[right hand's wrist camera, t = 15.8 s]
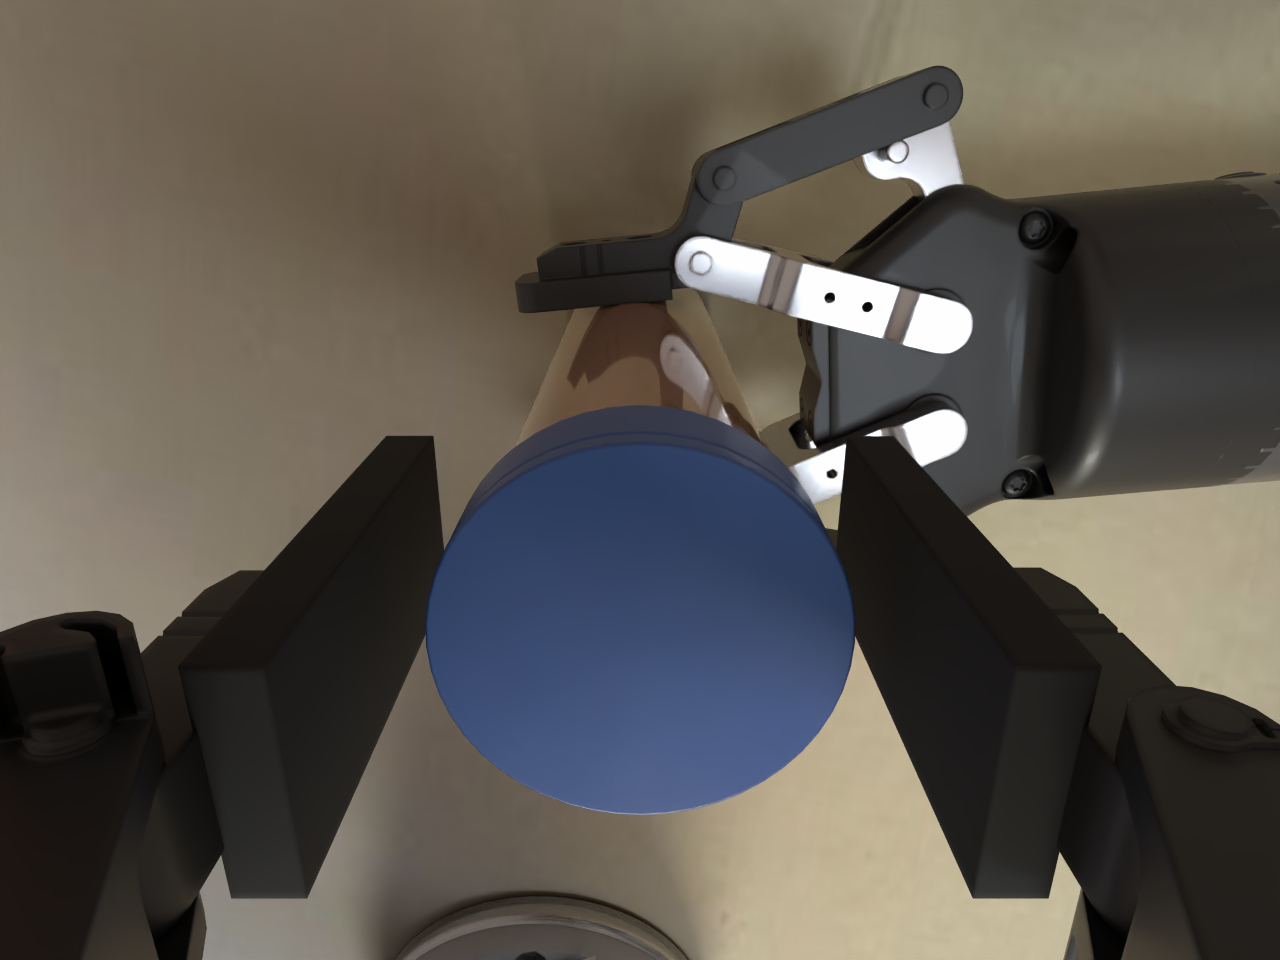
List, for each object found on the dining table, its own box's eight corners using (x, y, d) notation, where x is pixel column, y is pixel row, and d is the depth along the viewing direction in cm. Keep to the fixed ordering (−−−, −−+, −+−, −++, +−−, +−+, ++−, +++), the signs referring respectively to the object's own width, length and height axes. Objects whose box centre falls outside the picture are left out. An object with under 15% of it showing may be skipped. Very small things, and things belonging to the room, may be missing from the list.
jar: (574, 257, 27) (458, 431, 10) (717, 268, 27) (848, 458, 10) (567, 397, 29) (460, 751, 12) (702, 406, 29) (794, 771, 12)
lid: (445, 720, 12) (419, 795, 11) (460, 379, 11) (431, 416, 9) (790, 755, 13) (810, 834, 11) (865, 427, 11) (899, 470, 9)
